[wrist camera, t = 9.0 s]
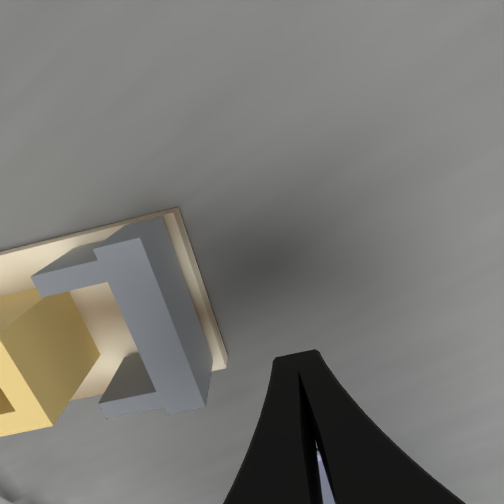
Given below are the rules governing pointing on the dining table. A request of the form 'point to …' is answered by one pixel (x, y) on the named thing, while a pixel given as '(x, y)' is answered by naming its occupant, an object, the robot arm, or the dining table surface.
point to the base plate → (111, 295)
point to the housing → (142, 317)
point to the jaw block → (40, 358)
